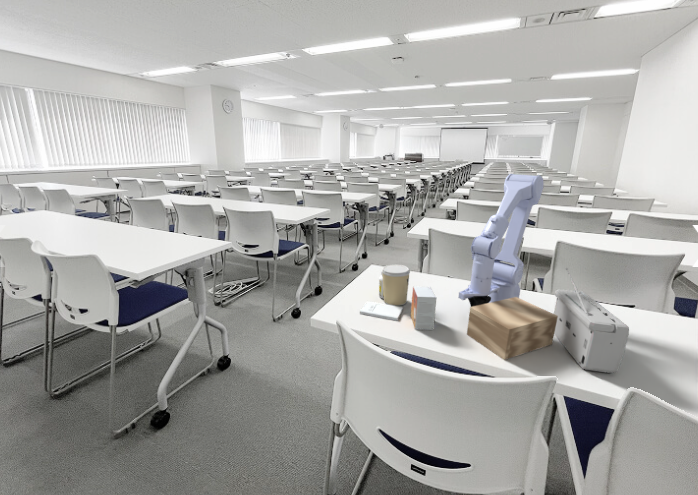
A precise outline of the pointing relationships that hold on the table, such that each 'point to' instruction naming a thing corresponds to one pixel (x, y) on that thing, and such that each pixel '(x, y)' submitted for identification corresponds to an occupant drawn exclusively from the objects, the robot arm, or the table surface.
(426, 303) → the small box
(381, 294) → the supplement bottle
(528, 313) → the wood grain block
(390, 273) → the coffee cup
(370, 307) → the external hard drive
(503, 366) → the table surface
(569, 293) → the stereo radio cassette player
